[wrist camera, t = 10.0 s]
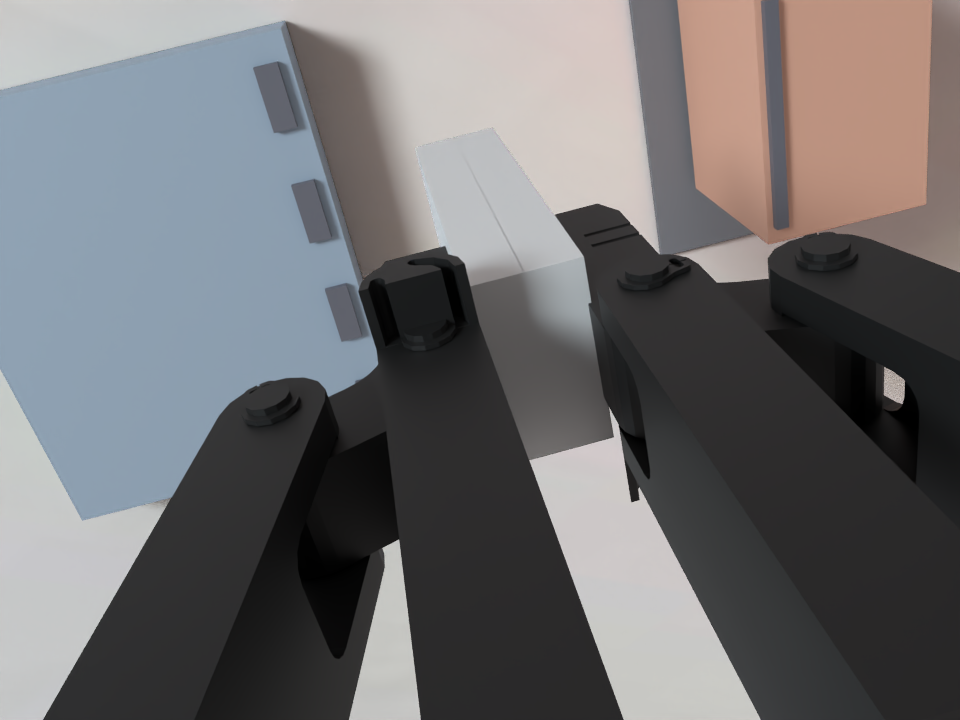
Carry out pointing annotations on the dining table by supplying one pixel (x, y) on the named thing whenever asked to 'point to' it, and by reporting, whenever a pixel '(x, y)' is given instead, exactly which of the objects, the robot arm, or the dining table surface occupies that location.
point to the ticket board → (167, 257)
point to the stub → (808, 109)
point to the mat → (672, 135)
